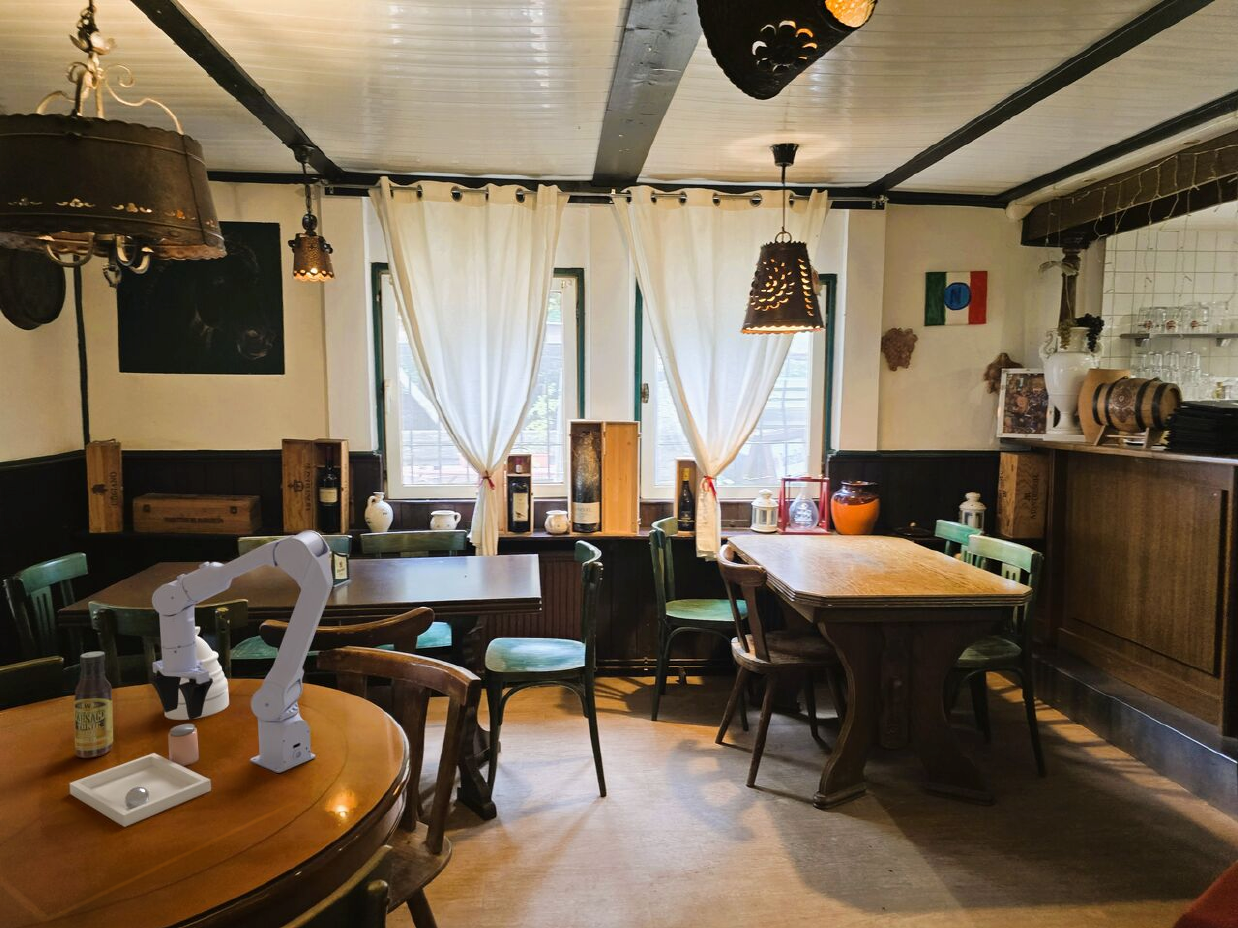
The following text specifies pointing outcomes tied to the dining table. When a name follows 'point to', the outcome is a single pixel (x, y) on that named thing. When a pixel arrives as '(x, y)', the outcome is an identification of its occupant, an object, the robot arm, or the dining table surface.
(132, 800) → the mixing ball
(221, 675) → the honey pot
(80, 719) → the sauce bottle
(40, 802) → the dining table surface
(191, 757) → the shaker
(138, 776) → the dish
